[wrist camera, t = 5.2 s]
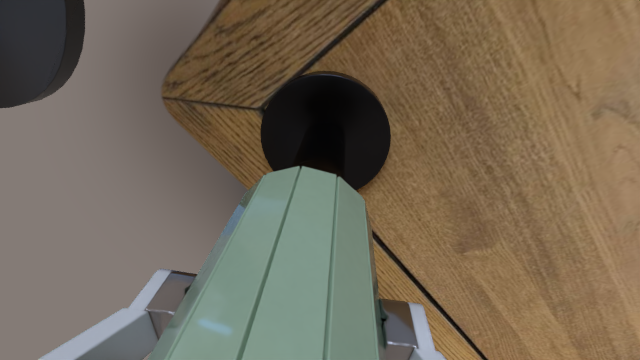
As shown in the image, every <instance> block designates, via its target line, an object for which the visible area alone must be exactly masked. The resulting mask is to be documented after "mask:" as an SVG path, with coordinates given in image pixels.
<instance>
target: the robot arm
mask: <svg viewBox="0 0 640 360" xmlns="http://www.w3.org/2000/svg"><path fill="white" fill-rule="evenodd" d="M196 276H197V274H193V273H186V272H179V271H174V270H166V269H160V270H158V271H156V272H155V273H154V275H153V276H152V277H151V279H150V280H149V281H148V283H147V284H146V285H145V286H144V288H143V289H142V291H141V292H140V293H139V295H138V296H137V297H136V298H135V300H134V301H133V302H132V304H131V305H130V306H129V308H123V309H121V310H119V311H118V312H116V313H114V314H113V315H111V316H109V317H108V318H106V319H104V320H103V321H101V322H99V323H98V324H96V325H94V326H93V327H91V328H89V329H88V330H86V331H84V332H83V333H81V334H79V335H78V336H76V337H74V338H73V339H71V340H69V341H68V342H66V343H64V344H63V345H61V346H59V347H58V348H56V349H54V350H53V351H51V352H49V353H48V354H46V355H44V356H43V357H41V358H39V359H38V360H142V359H144V358H145V357H146V356H147V355H148V354H149V353H150V352H152V351H153V349H154V347H155V346H156V344H157V342H158V341H159V339H160V337H161V336H162V334H163V332H164V330H165V329H166V327H167V325H168V324H169V322H170V320H171V319H172V317H173V315H174V313H175V312H176V310H177V308H178V307H179V305H180V303H181V302H182V300H183V298H184V297H185V295H186V293H187V291H188V290H189V288H190V286H191V285H192V283H193V281H194V280H195V278H196ZM379 303H380V312H381V319H382V330H383V339H384V347H385V354H386V360H446V358H445V357H444V356H443V355H442V354H441V352H439V351H435V347H434V343H433V340H432V336H431V332H430V329H429V325H428V321H427V318H426V314H425V310H424V307H423V306H422V304H418V303H410V302H405V301H397V300H388V299H379Z"/></svg>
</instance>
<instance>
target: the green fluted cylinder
mask: <svg viewBox="0 0 640 360" xmlns="http://www.w3.org/2000/svg"><path fill="white" fill-rule="evenodd" d="M336 177H337V175H336V174H332V173H328V172H324V171H320V170H316V169H312V168H308V167H304V166H302V167H301V169H300V167H299V166H297V167H292V168H288V169H284V170H279V171H275V172H270V173H267V174H266V175H263V176H262V177H261V178H260V179H259V180H258V181H257V182H256V183H255V184H254V185H253V186H252V187H251V188H250V189H249V190H248V191H247V193H245V195H244V196H243V198H242V200H241V202H240V203H239V205H238V207H237V208H236V210H235V212H234V213H233V215H232V217H231V219H230V220H229V222H228V224H227V225H226V227H225V229H224V230H223V232H222V234H221V235H220V237H219V239H218V241H217V242H216V244H215V246H214V247H213V249H212V251H211V253H210V254H209V256H208V258H207V259H206V261H205V263H204V264H203V266H202V268H201V269H200V271H199V273H198V274H197V276H196V278H195V280H194V281H193V283H192V285H191V286H190V288H189V290H188V291H187V293H186V295H185V297H184V298H183V300H182V302H181V303H180V305H179V307H178V308H177V310H176V312H175V313H174V315H173V317H172V319H171V320H170V322H169V324H168V325H167V327H166V329H165V330H164V332H163V334H162V336H161V337H160V339H159V341H158V342H157V344H156V346H155V347H154V349H153V351H152V353H151V354H150V356H149V358H148V360H386V354H385V347H384V339H383V330H382V319H381V312H380V303H379V292H378V283H377V274H376V265H375V256H374V247H373V238H372V229H371V223H370V219H369V215H368V211H367V208H366V204H365V200H363V197H362V196H361V195H360V194H358V193H357V192H356V191H355V190H354V189H353V188H352V187H351V186H350V185H348V184H347V183H346V182H345V181H344V180H343V179H342V178H341V177H340V176H339V177H337V178H336Z"/></svg>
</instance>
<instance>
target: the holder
mask: <svg viewBox="0 0 640 360" xmlns="http://www.w3.org/2000/svg"><path fill="white" fill-rule="evenodd" d="M390 138H391V134H390V126H389V122H388V118H387V115H386V113H385V110H384V108H383V106H382V104H381V102H380V101H379V99H378V97H377V96H376V95H375V94H374V92H373V91H372V90H371V89H370V88H368V87H367V86H366V85H365V84H363V83H362V82H361V81H359V80H357V79H355V78H353V77H351V76H349V75H346V74H343V73H339V72H334V71H318V72H312V73H308V74H305V75H302V76H299V77H297V78H295V79H294V80H292V81H290V82H289V83H288V84H286V85H285V86H284V87H283V88H282V89H281V90H280V91H279V92H278V93H277V94H276V95H275V96H274V97H273V99H272V100H271V101H270V103H269V105H268V106H267V108H266V110H265V113H264V116H263V119H262V124H261V143H262V148H263V151H264V154H265V157H266V159H267V161H268V163H269V165H270V166H271V168H272V169H273V171H274V172H275V171H279V170H284V169H288V168H292V167H297V166H299V167H300V169H301V167H302V166H304V167H308V168H312V169H316V170H320V171H324V172H328V173H332V174H336V175H337V177H339V176H340V177H341V178H342V179H343V180H344V181H345V182H346V183H347V184H348V185H350V186H351V187H352V188H353V189H354V190H357V189H359V188H361V187H363V186H364V185H366V184H367V183H368V182H369V181H371V180H372V179H373V178H374V177H375V176H376V174H377V173H378V172H379V171H380V169H381V168H382V166H383V164H384V162H385V160H386V158H387V155H388V152H389V147H390ZM337 177H336V178H337Z"/></svg>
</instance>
